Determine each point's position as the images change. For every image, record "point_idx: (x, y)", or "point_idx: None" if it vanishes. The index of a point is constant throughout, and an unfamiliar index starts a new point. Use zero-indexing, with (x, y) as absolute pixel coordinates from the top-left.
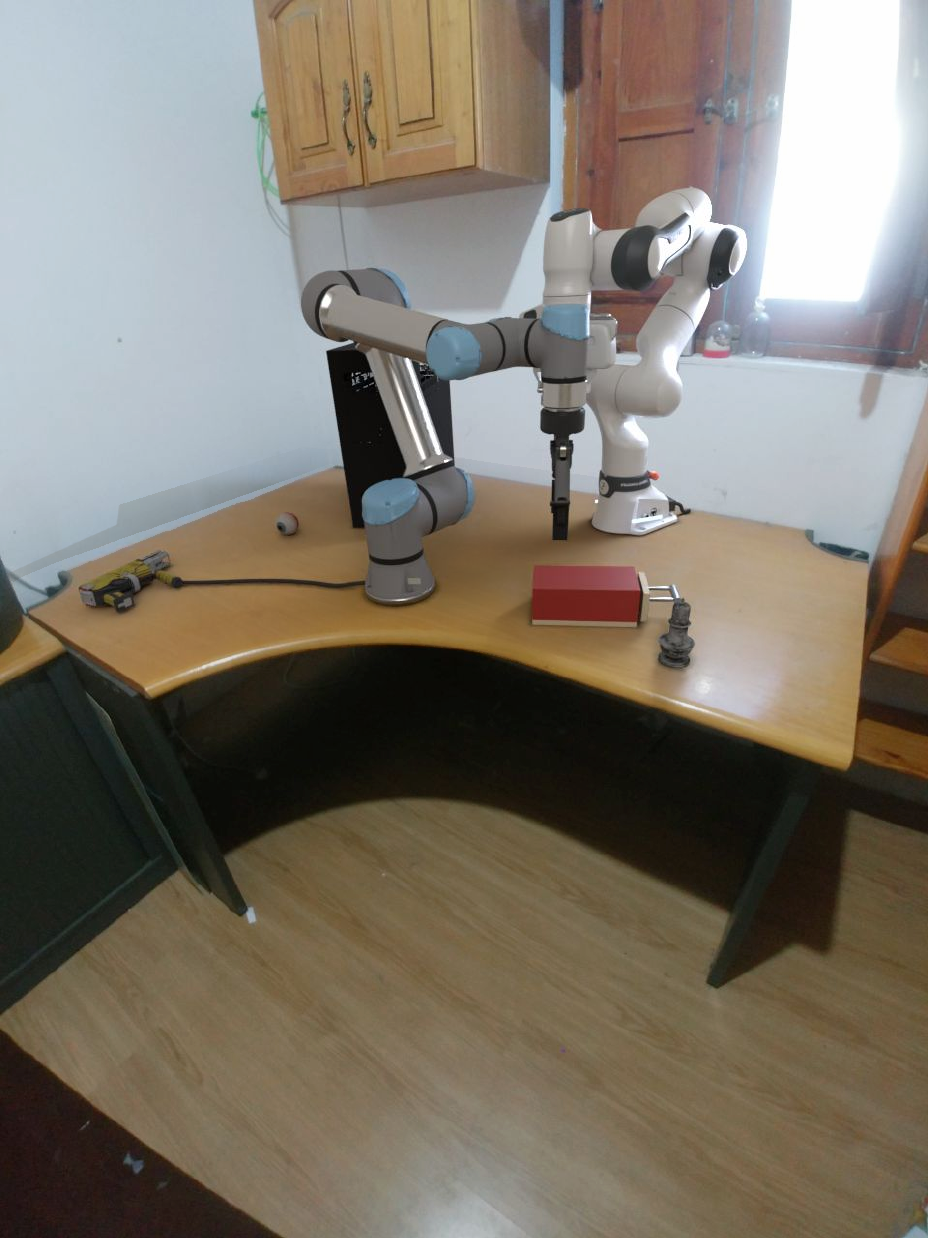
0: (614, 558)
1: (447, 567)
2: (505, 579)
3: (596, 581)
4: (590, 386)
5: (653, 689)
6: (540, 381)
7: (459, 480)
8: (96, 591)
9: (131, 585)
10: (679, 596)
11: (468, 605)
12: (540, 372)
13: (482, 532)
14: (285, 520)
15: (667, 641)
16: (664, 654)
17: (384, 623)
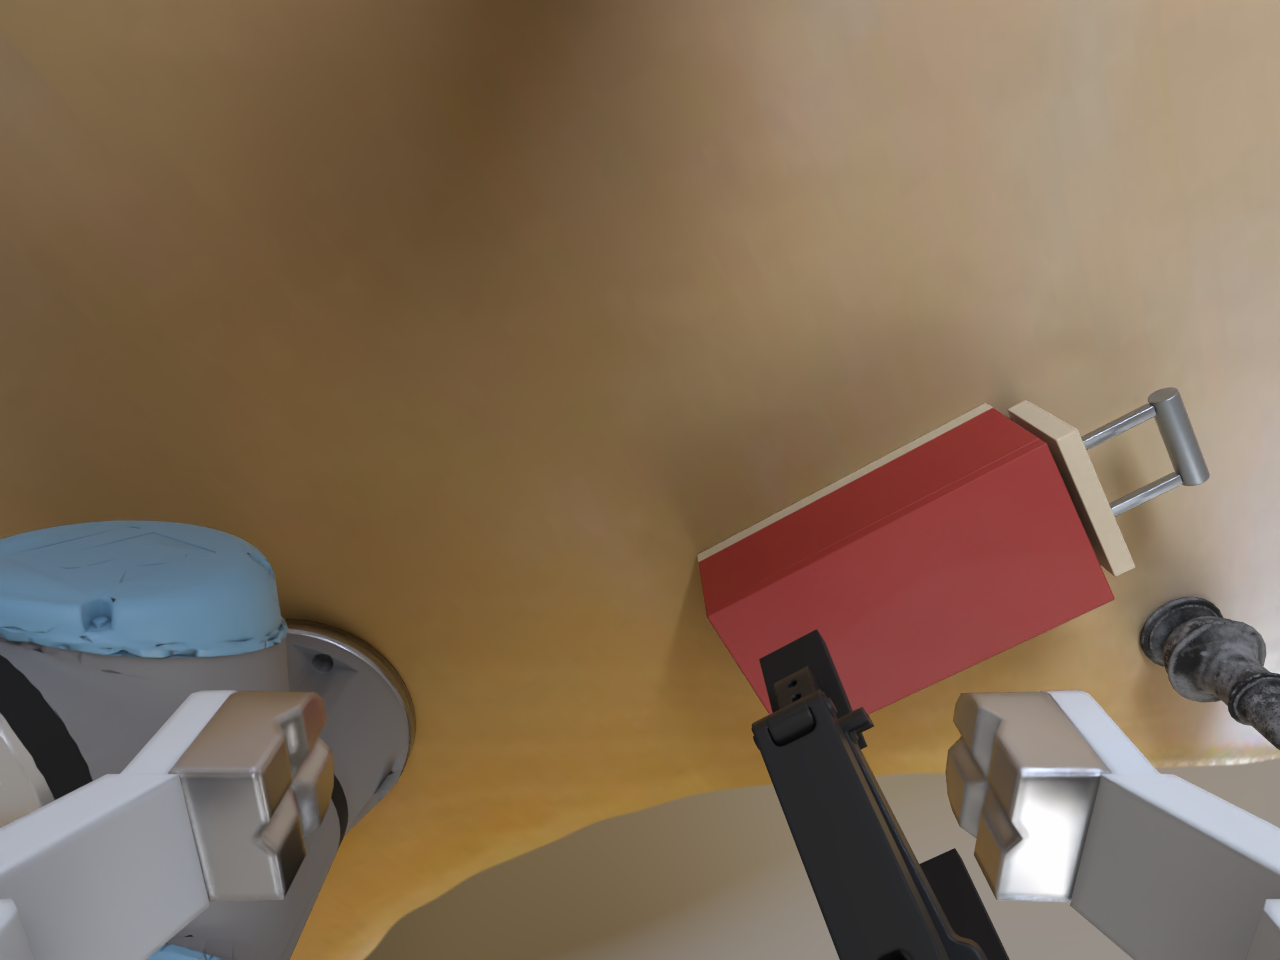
0: (803, 83)
1: (293, 519)
2: (532, 488)
3: (959, 615)
4: (1122, 739)
5: (1154, 752)
6: (215, 894)
7: (165, 696)
8: None
9: None
10: (1204, 465)
11: (548, 680)
12: (25, 927)
13: (122, 147)
14: None
15: (1200, 690)
16: (1160, 641)
17: (427, 852)
